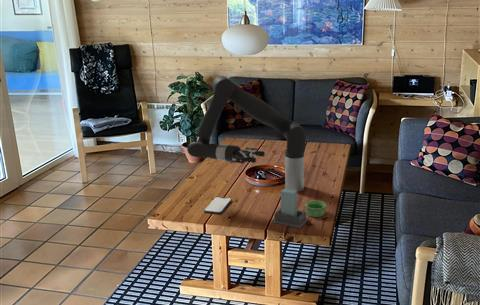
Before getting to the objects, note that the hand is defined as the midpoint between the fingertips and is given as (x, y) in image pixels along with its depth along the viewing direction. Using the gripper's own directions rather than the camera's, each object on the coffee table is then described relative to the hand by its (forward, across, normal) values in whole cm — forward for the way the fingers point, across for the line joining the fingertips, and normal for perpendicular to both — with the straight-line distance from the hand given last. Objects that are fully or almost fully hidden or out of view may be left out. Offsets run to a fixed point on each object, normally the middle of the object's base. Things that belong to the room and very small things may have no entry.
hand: (260, 157), depth 228 cm
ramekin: (+23, +7, +26) cm, 36 cm away
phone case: (-21, -5, +26) cm, 33 cm away
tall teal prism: (+15, -5, +25) cm, 30 cm away
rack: (+16, -5, +26) cm, 31 cm away
